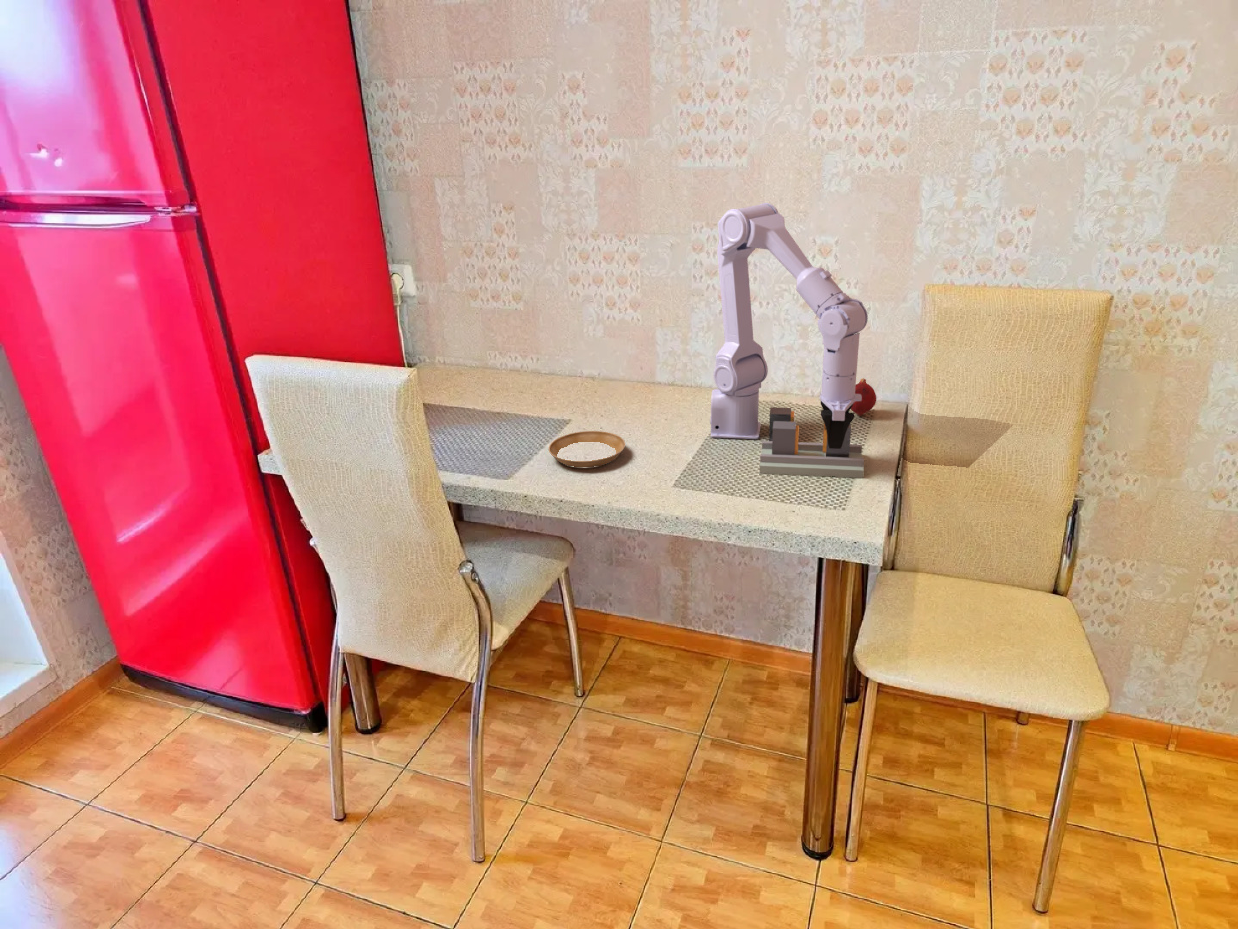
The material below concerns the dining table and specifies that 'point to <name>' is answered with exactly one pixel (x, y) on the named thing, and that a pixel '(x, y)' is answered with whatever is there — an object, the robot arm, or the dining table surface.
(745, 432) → the robot arm
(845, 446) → the brushed grey cube
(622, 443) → the plant saucer
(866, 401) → the onion
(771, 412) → the block
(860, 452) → the rail
